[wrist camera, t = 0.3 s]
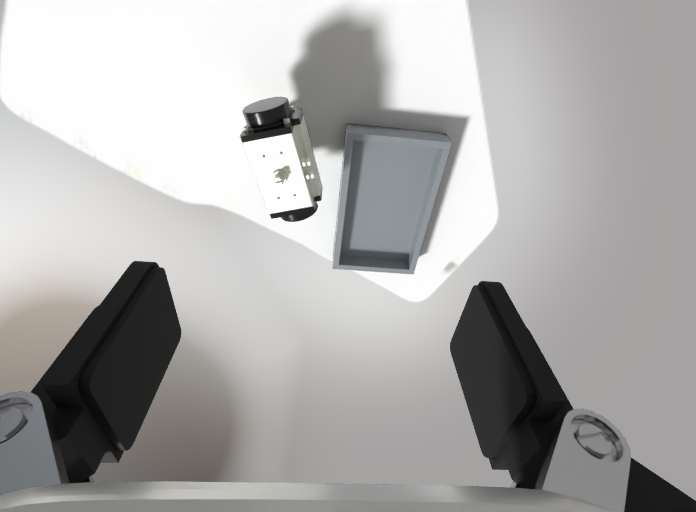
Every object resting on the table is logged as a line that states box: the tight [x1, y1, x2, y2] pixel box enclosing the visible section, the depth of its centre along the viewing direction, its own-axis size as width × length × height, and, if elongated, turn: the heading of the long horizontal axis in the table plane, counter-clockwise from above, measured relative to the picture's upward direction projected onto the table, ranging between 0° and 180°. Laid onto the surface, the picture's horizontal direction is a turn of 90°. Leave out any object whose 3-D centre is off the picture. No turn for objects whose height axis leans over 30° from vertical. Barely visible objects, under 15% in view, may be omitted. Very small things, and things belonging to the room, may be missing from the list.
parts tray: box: [333, 124, 452, 274], centre depth 47 cm, size 20×12×3 cm, turn 174°
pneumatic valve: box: [240, 97, 322, 222], centre depth 38 cm, size 6×12×12 cm, turn 11°
